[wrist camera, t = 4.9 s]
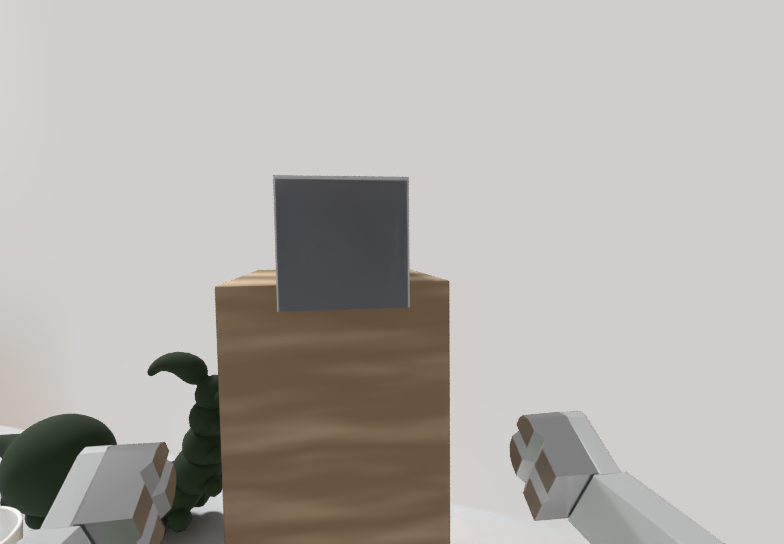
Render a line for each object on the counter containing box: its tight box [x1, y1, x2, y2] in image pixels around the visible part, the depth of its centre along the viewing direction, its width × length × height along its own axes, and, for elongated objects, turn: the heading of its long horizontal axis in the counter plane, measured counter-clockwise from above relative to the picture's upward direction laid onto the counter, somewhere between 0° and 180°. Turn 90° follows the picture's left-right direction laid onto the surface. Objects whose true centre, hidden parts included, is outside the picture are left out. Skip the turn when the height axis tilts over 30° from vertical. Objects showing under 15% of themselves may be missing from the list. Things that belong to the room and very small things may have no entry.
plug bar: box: [273, 175, 410, 312], centre depth 23 cm, size 20×4×4 cm, turn 9°
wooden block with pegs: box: [215, 269, 450, 544], centre depth 30 cm, size 14×12×28 cm
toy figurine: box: [0, 352, 223, 532], centre depth 43 cm, size 9×19×25 cm
